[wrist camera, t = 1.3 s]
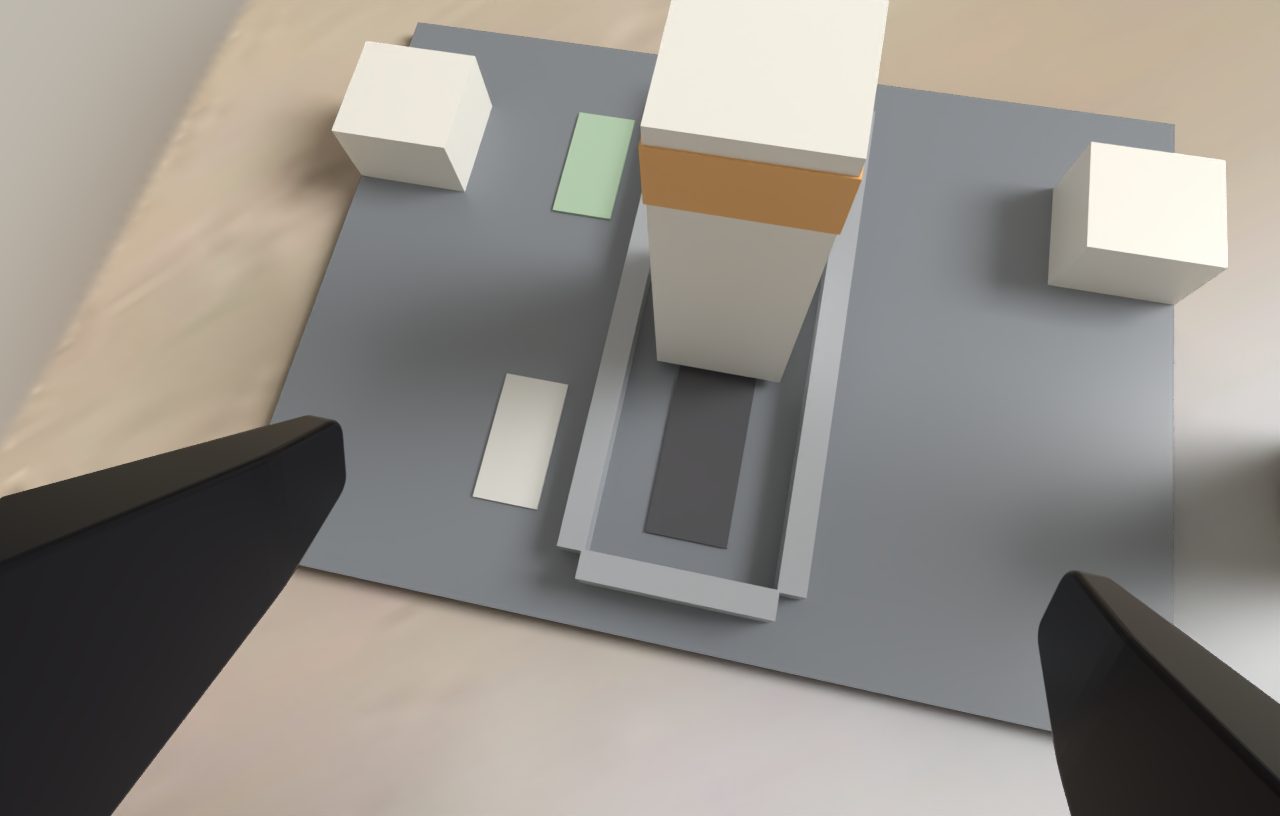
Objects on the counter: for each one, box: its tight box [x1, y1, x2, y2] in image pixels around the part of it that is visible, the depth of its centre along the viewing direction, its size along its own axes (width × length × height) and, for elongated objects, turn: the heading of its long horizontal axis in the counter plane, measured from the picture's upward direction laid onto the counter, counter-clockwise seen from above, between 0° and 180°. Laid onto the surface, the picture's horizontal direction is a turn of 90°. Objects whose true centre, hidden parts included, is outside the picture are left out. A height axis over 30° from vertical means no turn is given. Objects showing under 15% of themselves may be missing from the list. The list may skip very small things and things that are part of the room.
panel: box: [270, 22, 1228, 731], centre depth 23 cm, size 20×27×3 cm
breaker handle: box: [638, 0, 889, 383], centre depth 18 cm, size 4×4×11 cm
